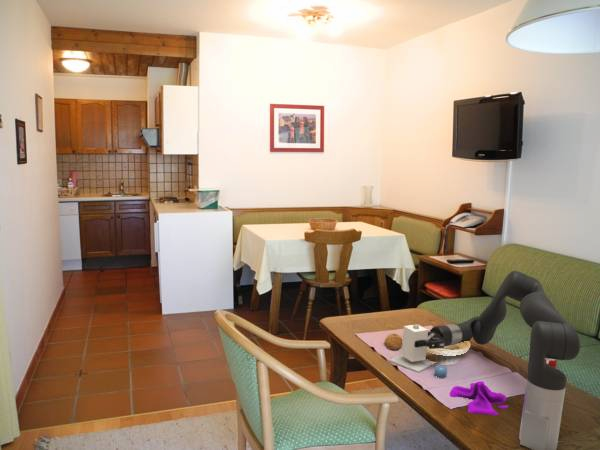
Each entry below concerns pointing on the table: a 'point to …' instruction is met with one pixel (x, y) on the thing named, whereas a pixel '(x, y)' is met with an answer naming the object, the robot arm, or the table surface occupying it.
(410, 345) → the white square bottle
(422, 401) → the table surface
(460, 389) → the cloth
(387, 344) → the pastry
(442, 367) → the blue rounded block
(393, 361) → the mat
